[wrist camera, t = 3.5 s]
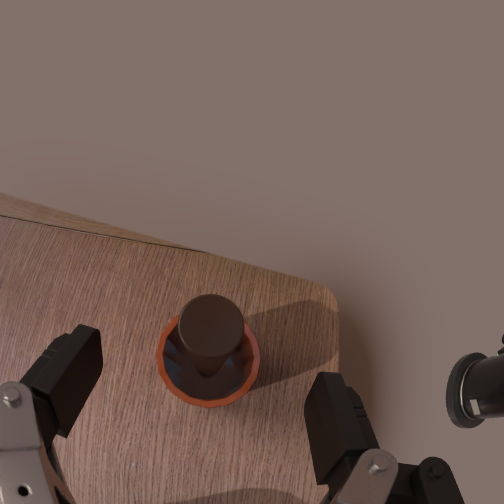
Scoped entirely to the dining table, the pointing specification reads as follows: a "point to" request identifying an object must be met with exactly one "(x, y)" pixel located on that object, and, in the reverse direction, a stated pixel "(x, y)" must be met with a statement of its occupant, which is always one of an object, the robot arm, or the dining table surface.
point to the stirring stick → (210, 331)
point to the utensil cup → (200, 386)
